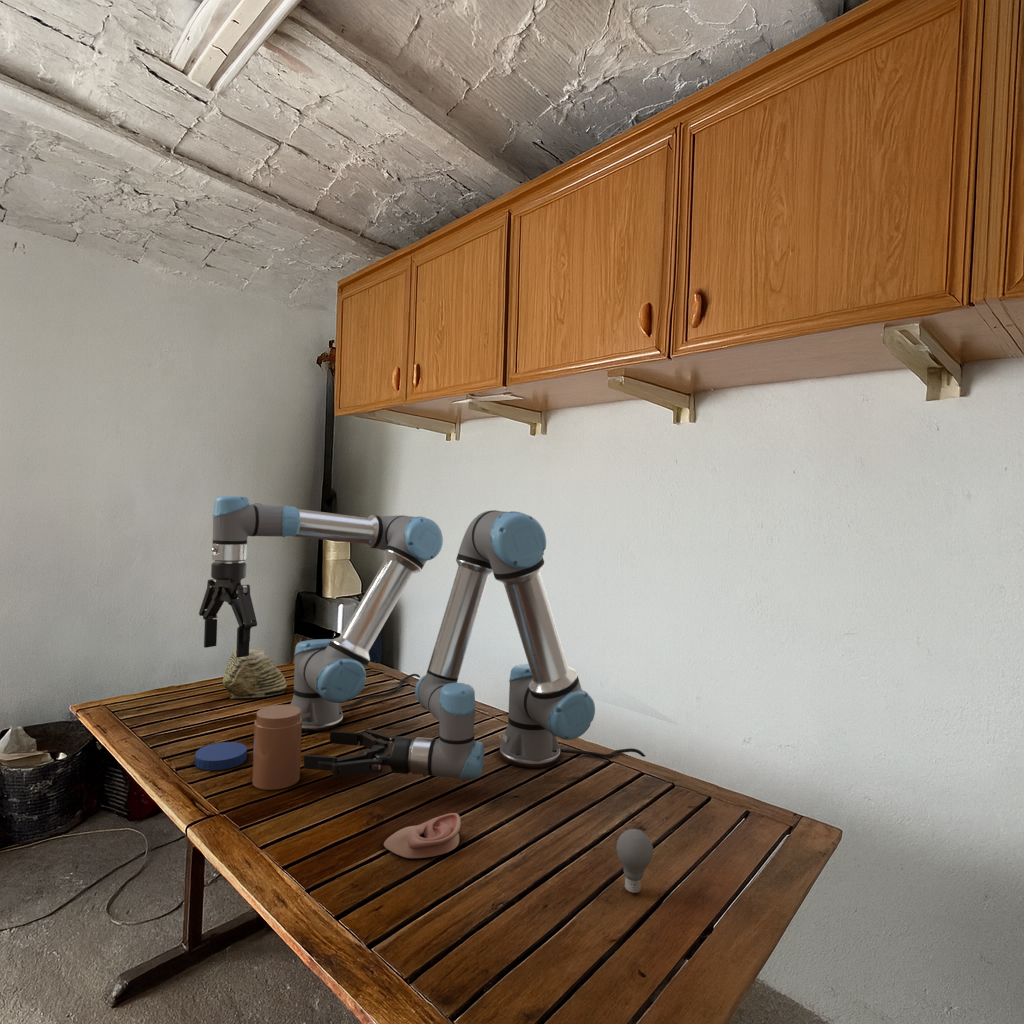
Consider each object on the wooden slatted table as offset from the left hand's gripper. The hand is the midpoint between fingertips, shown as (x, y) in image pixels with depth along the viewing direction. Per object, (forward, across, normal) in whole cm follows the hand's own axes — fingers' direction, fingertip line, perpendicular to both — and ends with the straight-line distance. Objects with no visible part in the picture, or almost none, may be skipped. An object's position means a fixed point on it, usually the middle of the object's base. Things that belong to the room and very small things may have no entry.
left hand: (225, 651), depth 149 cm
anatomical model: (+26, +61, +3) cm, 66 cm away
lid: (+24, 0, 0) cm, 24 cm away
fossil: (+26, -38, +33) cm, 56 cm away
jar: (+26, +18, +2) cm, 32 cm away
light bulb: (+26, +98, +15) cm, 102 cm away
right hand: (+18, +27, +6) cm, 33 cm away
